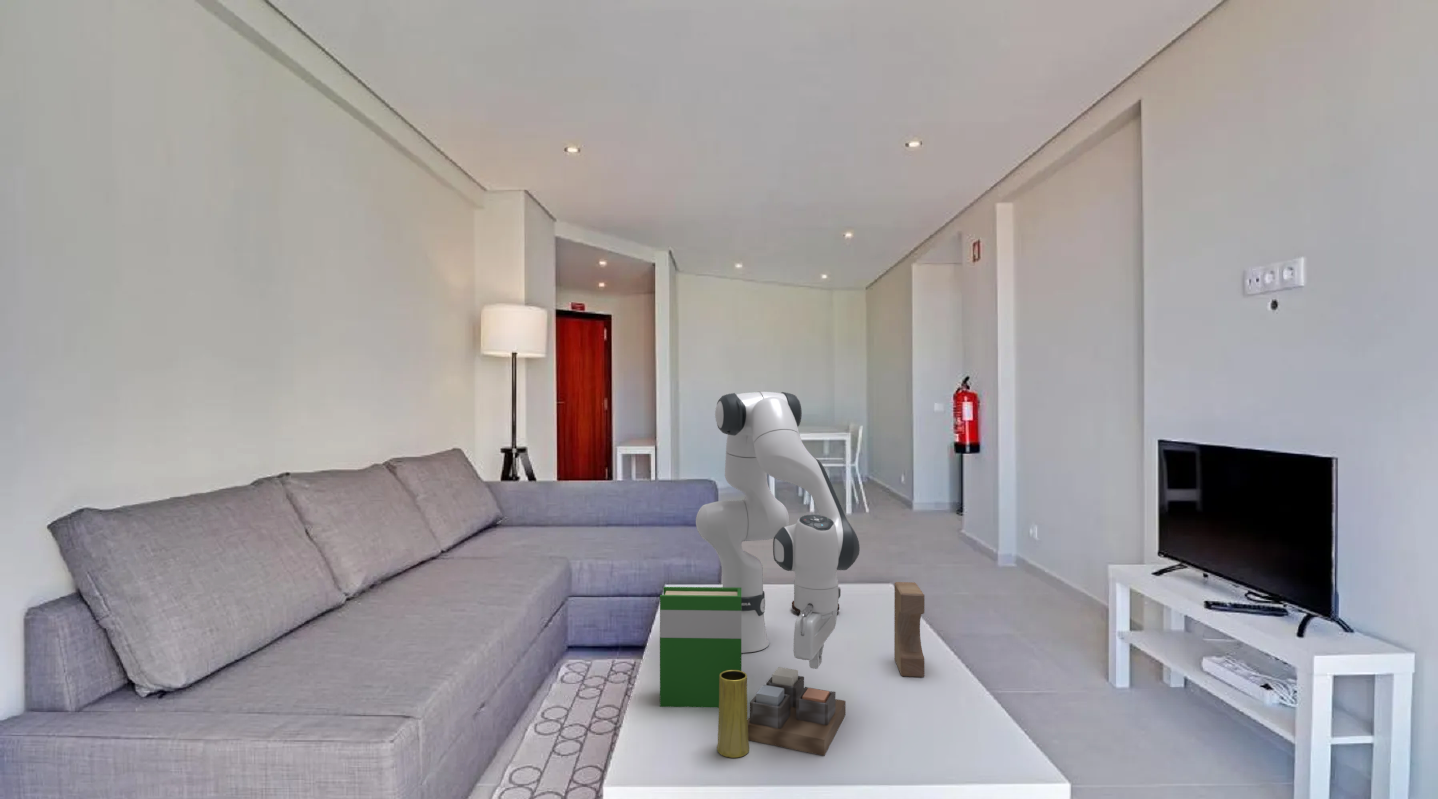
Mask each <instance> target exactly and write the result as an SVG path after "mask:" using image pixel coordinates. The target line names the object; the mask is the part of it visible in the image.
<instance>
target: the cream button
mask: <svg viewBox="0 0 1438 799" xmlns="http://www.w3.org/2000/svg"><path fill="white" fill-rule="evenodd" d="M798 676H799V670H798V669H792V668H786V667H781V666H778V668H776V669H775V671H774V672H773V673H772V674H771V677H772V683H775V684H781V685H787V686H793V687H794V685H795V684H796V683H797V681H798Z"/></svg>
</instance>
